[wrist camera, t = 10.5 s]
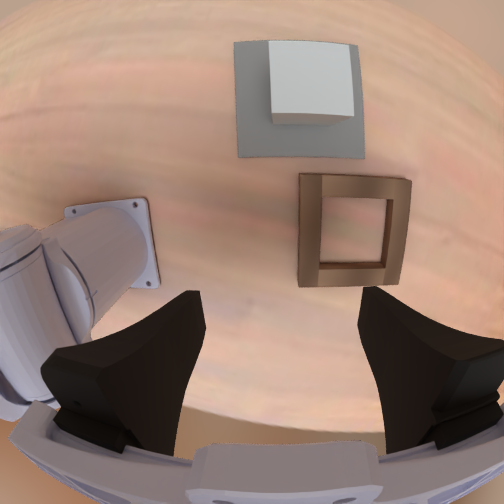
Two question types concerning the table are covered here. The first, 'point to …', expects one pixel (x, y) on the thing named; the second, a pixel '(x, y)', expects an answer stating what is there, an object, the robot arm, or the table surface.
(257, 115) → the coaster
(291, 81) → the block
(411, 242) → the table surface
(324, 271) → the holder
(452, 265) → the table surface
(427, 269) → the table surface
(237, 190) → the table surface
